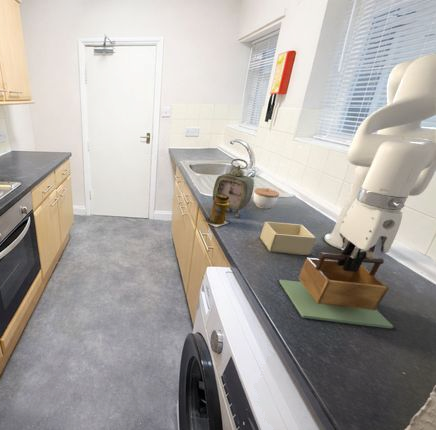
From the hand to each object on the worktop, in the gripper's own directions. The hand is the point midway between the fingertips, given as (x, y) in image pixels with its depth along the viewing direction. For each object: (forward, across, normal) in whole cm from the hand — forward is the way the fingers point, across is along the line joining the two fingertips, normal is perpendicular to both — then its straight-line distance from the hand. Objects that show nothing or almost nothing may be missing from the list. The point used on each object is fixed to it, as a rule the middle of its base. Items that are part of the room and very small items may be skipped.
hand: (346, 267), depth 66 cm
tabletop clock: (+12, +57, +13) cm, 59 cm away
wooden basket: (+8, 0, 0) cm, 8 cm away
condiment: (+12, +45, +21) cm, 51 cm away
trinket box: (+11, +68, -6) cm, 69 cm away
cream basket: (+11, +29, 0) cm, 31 cm away
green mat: (+12, 0, 0) cm, 12 cm away
